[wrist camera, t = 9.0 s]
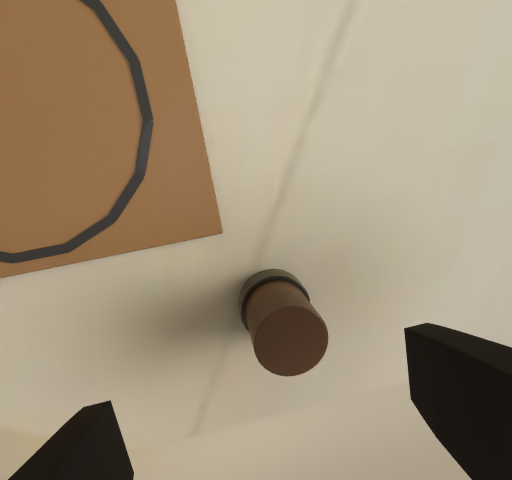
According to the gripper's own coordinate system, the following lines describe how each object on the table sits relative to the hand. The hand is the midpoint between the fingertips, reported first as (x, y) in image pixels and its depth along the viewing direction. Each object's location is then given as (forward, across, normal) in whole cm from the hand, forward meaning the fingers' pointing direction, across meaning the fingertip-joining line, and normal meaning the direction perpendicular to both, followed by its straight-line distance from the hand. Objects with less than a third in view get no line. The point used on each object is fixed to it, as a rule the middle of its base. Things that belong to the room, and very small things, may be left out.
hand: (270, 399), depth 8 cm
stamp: (+8, -1, +1) cm, 8 cm away
